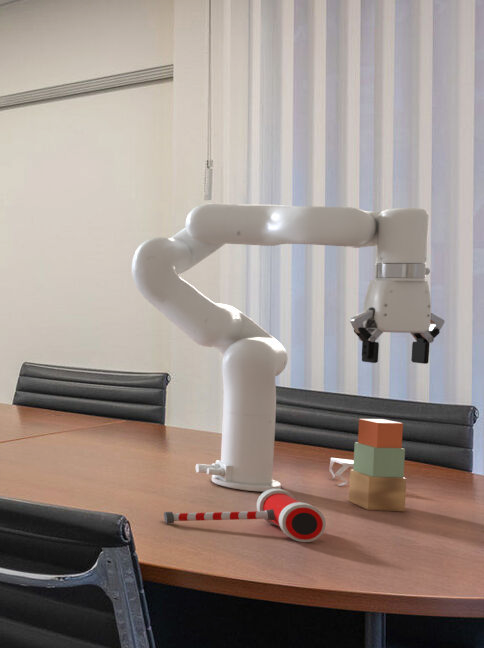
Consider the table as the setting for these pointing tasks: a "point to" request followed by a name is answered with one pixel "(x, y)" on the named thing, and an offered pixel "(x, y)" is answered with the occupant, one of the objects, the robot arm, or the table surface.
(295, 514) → the toy hammer
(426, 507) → the table surface
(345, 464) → the origami figure
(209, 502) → the table surface
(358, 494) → the base block
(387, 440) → the top block
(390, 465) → the middle block
